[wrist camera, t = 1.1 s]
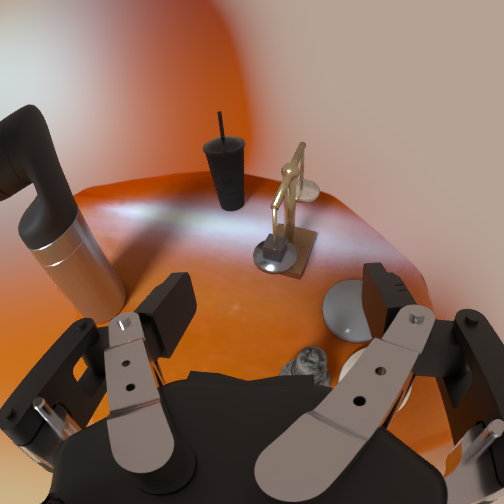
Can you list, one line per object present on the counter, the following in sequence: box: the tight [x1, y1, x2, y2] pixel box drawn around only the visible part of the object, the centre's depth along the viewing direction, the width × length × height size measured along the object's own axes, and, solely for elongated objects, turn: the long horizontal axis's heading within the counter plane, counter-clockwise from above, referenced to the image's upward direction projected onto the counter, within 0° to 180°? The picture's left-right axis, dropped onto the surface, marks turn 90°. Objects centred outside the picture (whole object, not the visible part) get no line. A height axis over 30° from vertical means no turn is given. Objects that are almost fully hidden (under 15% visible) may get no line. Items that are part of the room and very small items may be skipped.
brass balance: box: [253, 142, 320, 280], centre depth 39 cm, size 7×19×17 cm, turn 157°
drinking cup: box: [203, 111, 245, 211], centre depth 48 cm, size 8×8×20 cm
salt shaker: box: [279, 346, 330, 387], centre depth 25 cm, size 6×6×12 cm
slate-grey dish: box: [322, 280, 372, 343], centre depth 36 cm, size 10×10×1 cm
